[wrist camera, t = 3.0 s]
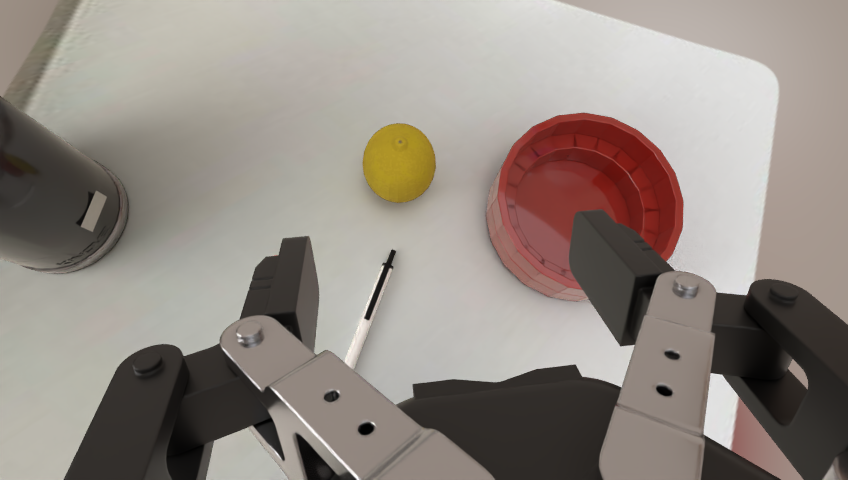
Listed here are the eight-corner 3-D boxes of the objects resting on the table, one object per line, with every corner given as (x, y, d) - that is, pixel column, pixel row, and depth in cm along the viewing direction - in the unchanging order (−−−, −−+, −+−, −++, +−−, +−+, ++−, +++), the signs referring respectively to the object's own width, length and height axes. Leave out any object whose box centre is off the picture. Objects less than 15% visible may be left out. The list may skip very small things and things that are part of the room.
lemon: (361, 211, 41) (354, 174, 33) (370, 149, 42) (364, 100, 34) (428, 218, 41) (436, 183, 33) (434, 156, 42) (443, 109, 35)
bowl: (451, 216, 41) (459, 194, 36) (559, 114, 44) (582, 80, 39) (574, 337, 39) (602, 332, 34) (678, 222, 42) (719, 201, 37)
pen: (398, 253, 40) (399, 250, 39) (304, 497, 35) (302, 501, 34) (388, 249, 40) (388, 246, 39) (293, 492, 35) (290, 496, 34)
